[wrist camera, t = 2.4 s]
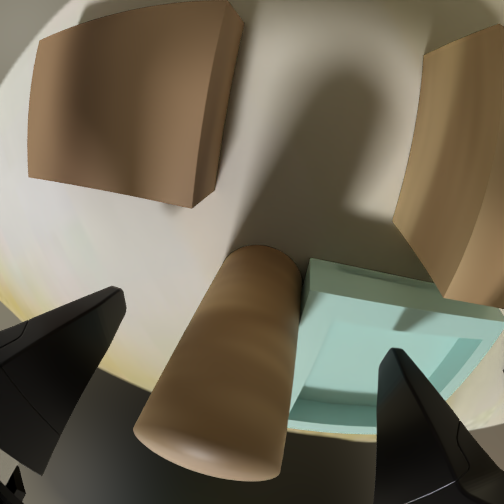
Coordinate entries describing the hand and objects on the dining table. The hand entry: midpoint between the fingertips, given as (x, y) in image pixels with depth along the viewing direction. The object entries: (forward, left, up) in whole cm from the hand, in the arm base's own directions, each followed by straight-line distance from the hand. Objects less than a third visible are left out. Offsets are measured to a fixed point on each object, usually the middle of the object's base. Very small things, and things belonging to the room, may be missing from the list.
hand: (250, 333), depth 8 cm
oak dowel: (0, 0, -3) cm, 3 cm away
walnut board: (+6, -7, -3) cm, 9 cm away
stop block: (-5, -7, -3) cm, 9 cm away
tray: (-6, +3, -3) cm, 7 cm away
